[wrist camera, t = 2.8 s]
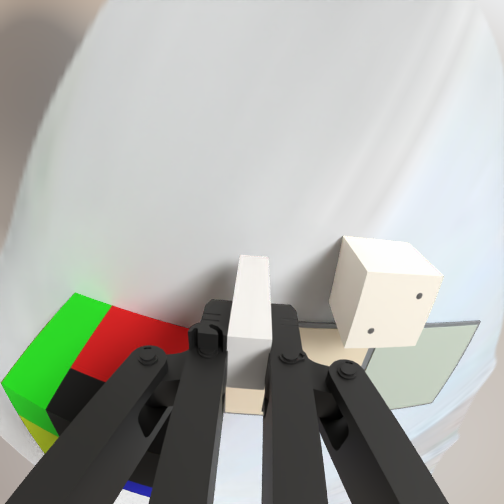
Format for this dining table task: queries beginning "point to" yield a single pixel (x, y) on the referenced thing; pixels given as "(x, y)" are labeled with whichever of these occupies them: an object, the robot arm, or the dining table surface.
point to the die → (382, 293)
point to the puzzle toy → (85, 370)
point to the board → (380, 364)
